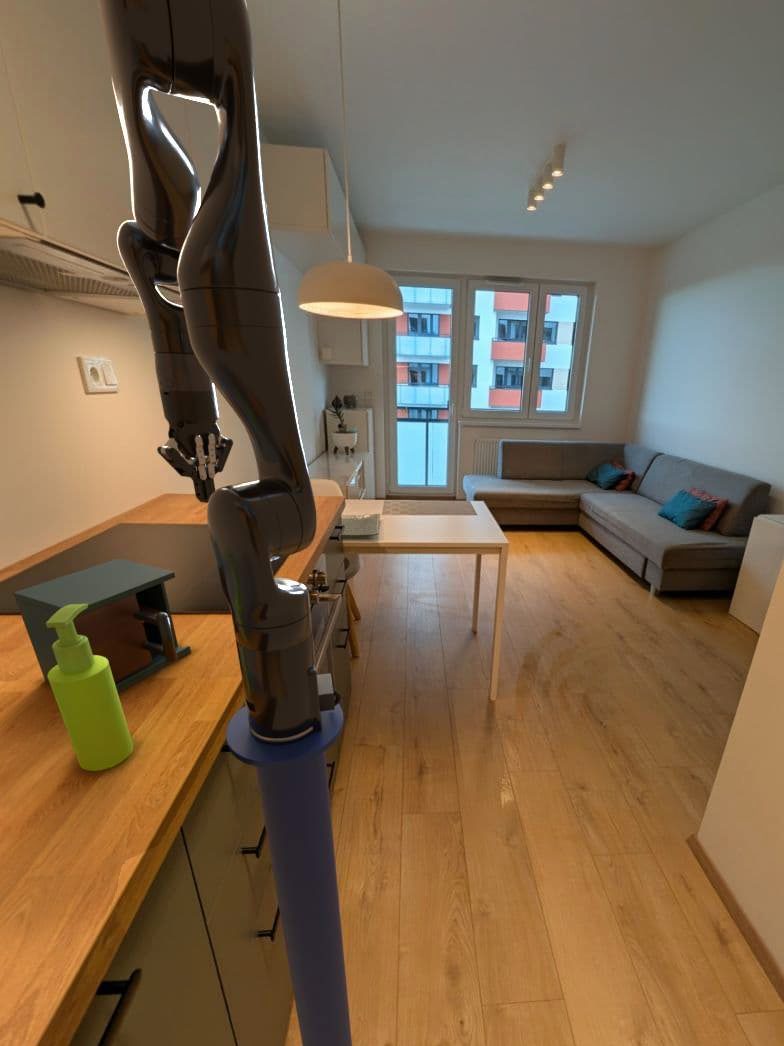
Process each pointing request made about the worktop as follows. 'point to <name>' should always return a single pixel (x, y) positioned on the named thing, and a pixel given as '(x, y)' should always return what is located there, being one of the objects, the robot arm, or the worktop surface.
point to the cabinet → (98, 606)
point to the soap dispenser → (87, 696)
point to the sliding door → (125, 636)
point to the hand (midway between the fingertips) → (206, 501)
